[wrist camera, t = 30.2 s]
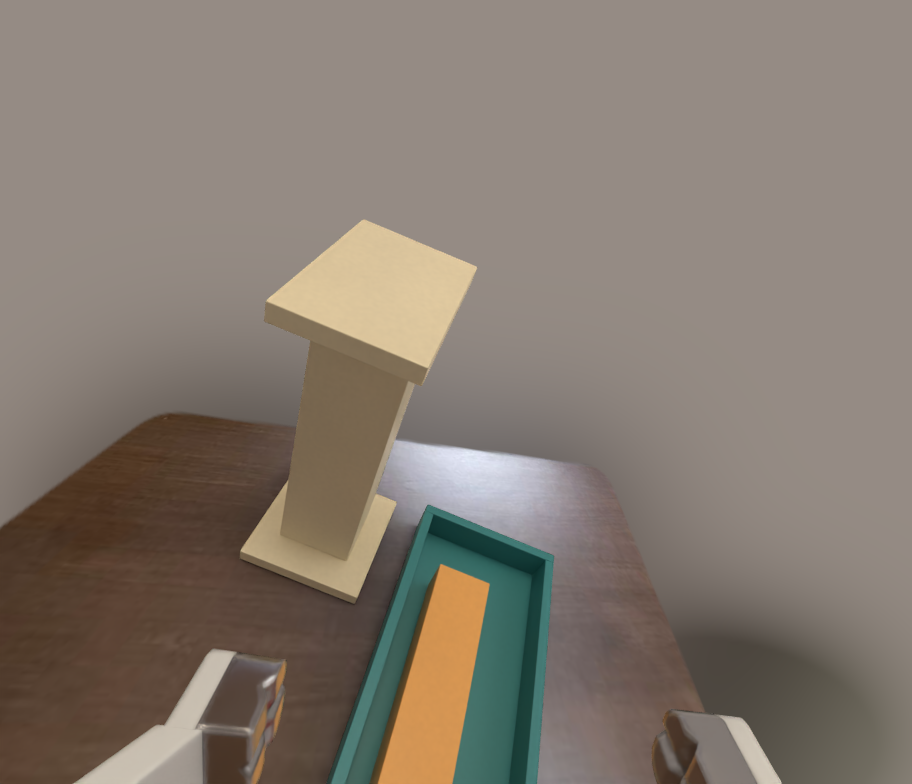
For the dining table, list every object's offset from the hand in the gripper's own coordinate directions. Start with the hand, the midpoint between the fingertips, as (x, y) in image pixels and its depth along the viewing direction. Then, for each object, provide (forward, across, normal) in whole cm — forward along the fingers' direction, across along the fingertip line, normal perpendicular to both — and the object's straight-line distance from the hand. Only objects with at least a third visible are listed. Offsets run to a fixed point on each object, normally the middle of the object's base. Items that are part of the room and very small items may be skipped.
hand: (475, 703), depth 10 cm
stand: (+29, +10, +18) cm, 35 cm away
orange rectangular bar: (+17, -1, +24) cm, 29 cm away
